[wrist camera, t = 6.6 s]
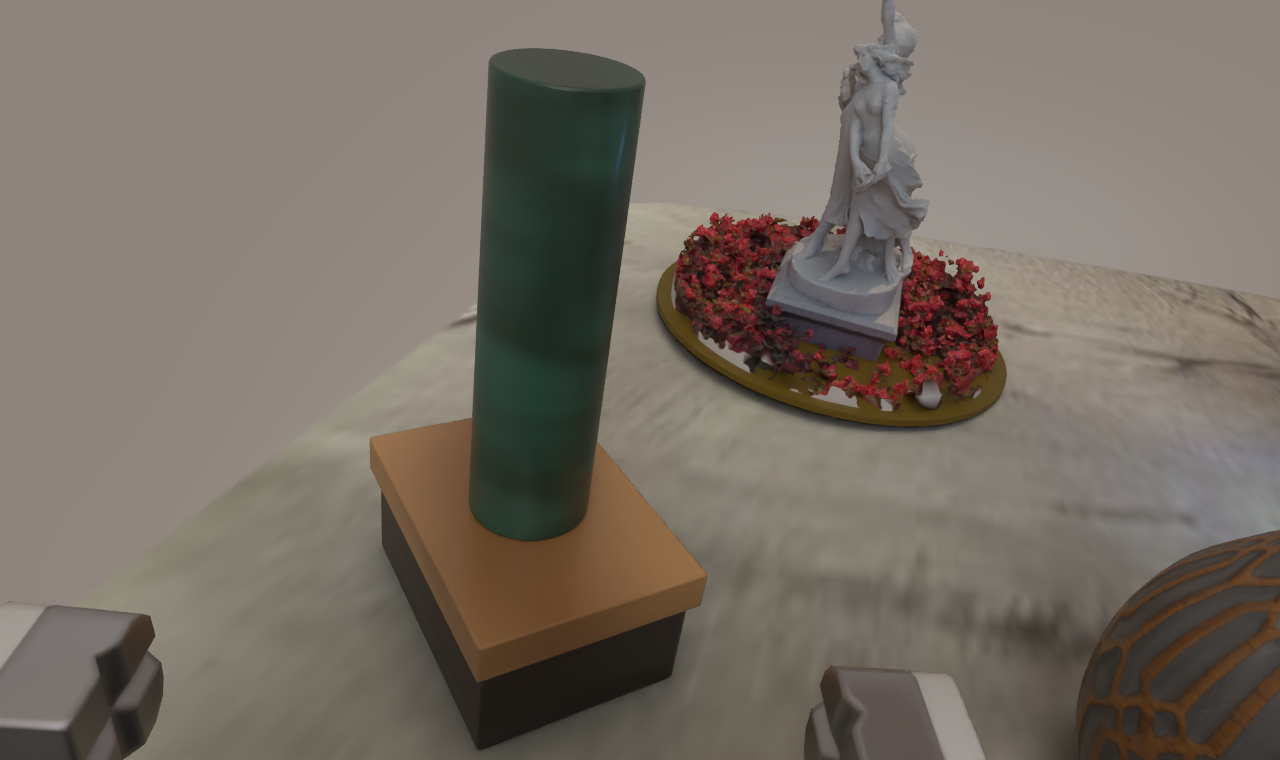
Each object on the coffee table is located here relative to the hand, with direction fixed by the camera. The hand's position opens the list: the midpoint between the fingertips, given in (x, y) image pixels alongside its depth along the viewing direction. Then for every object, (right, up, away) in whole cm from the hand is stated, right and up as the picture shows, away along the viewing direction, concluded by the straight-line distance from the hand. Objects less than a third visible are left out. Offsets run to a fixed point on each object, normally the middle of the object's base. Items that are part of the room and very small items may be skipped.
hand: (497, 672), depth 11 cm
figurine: (+10, +6, +28) cm, 30 cm away
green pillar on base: (-1, -2, +12) cm, 12 cm away
